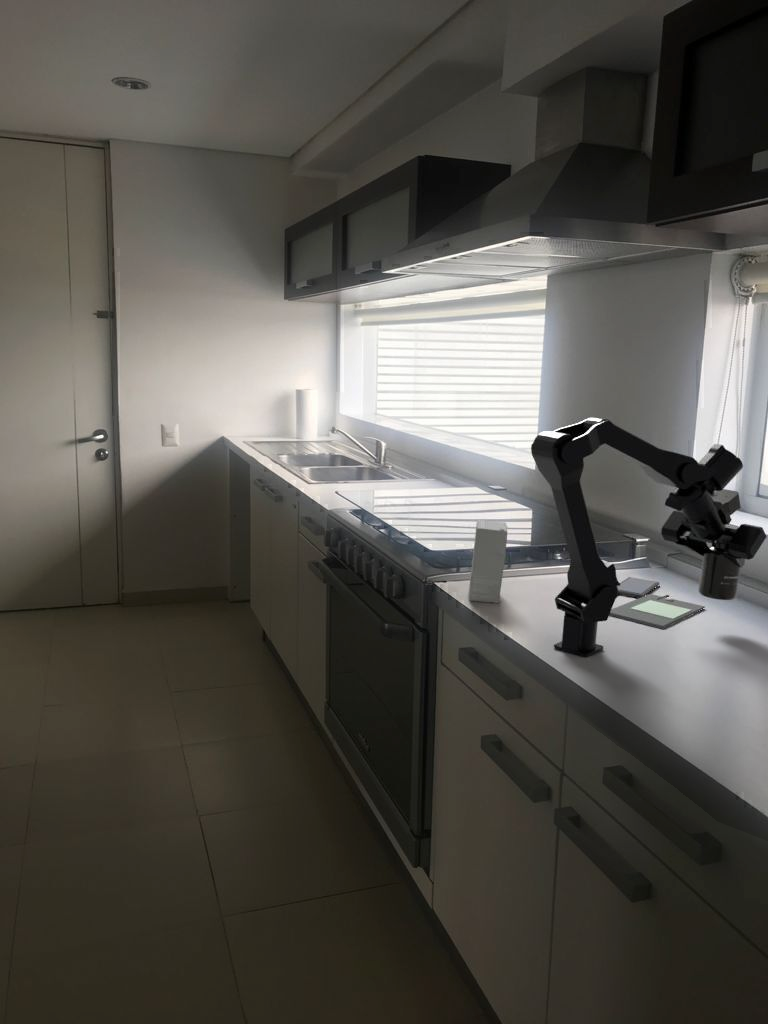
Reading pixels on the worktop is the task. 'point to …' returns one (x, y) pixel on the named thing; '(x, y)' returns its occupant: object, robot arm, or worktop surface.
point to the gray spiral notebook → (655, 611)
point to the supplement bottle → (718, 573)
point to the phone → (636, 587)
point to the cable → (648, 592)
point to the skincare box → (488, 561)
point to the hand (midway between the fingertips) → (725, 561)
